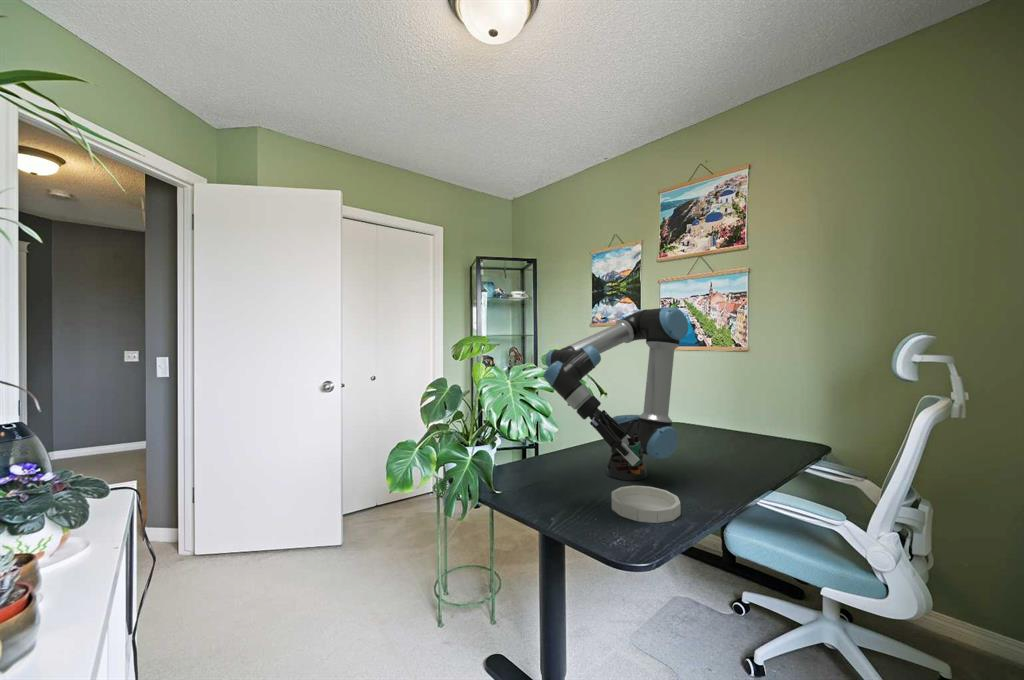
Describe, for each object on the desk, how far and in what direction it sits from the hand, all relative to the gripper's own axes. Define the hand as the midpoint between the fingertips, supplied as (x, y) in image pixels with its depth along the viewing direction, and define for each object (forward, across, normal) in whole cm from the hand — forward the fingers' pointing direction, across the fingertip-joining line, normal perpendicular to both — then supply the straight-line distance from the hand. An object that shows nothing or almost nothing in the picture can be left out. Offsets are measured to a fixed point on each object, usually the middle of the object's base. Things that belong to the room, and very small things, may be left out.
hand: (638, 458), depth 125 cm
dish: (+13, -7, -12) cm, 19 cm away
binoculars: (+1, 0, -5) cm, 5 cm away
